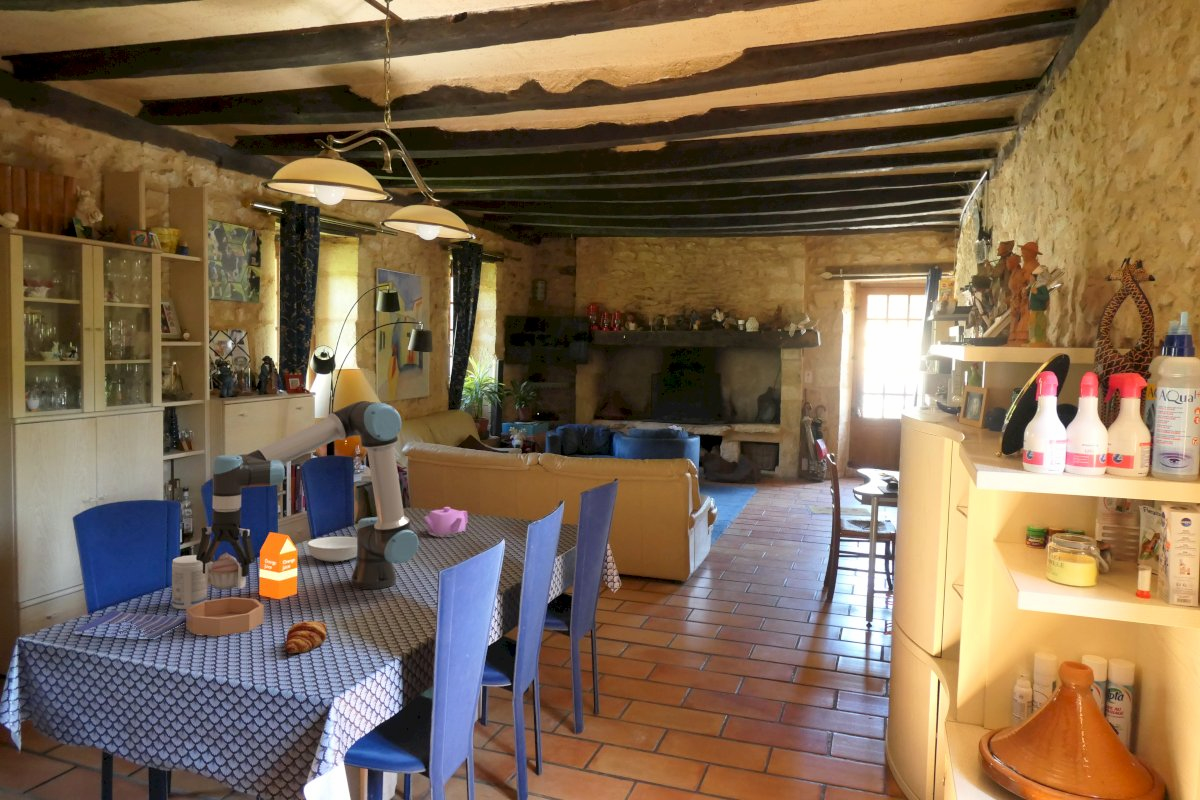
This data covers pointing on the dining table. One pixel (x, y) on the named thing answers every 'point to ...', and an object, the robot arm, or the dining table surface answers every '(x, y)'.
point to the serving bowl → (333, 548)
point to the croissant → (305, 636)
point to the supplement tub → (187, 582)
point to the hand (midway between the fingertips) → (225, 586)
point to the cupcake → (224, 572)
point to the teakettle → (446, 521)
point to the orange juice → (278, 567)
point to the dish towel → (138, 622)
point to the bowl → (224, 616)
